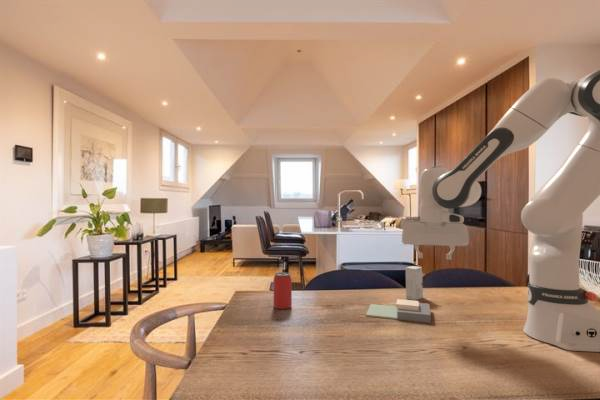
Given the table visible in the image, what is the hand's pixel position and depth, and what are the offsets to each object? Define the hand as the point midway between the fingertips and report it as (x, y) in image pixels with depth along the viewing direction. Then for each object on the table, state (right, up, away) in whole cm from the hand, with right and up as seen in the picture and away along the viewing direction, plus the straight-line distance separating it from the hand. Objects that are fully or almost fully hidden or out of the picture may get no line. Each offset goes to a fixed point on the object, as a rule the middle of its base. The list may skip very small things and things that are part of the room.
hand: (434, 258), depth 107 cm
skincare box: (+1, -20, +22) cm, 29 cm away
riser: (-6, -19, +2) cm, 20 cm away
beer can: (-50, -20, +12) cm, 55 cm away
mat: (-15, -19, +5) cm, 25 cm away
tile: (-8, -17, +3) cm, 19 cm away
